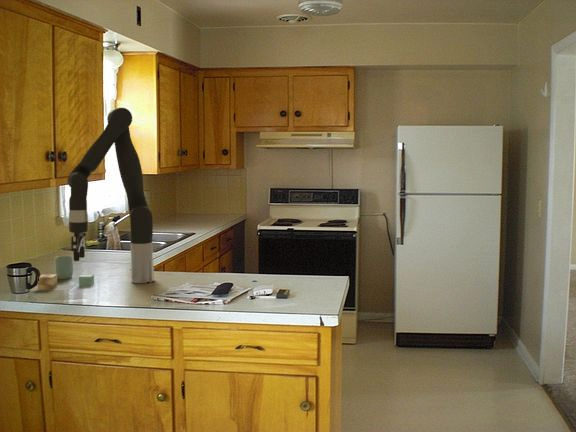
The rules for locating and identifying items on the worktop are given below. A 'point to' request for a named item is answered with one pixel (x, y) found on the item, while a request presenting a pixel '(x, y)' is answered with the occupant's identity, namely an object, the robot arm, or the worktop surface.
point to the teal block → (86, 280)
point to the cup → (64, 267)
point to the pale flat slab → (59, 287)
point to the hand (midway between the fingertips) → (79, 259)
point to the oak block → (47, 281)
